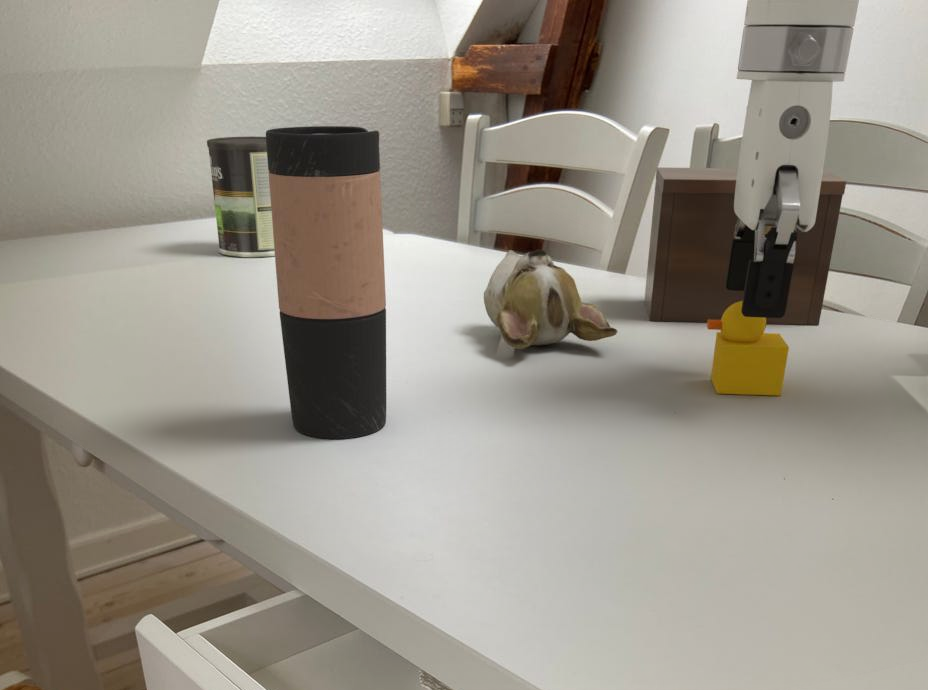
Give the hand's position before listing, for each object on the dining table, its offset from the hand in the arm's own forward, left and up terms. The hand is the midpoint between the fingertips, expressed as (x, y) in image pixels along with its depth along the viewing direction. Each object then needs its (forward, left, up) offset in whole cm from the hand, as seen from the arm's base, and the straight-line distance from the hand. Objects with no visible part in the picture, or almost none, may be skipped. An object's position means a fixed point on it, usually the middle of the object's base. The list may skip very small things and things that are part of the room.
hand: (752, 302), depth 81 cm
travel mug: (+32, +13, -7) cm, 35 cm away
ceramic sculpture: (+18, -13, -7) cm, 23 cm away
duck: (0, 0, -7) cm, 7 cm away
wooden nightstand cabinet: (-2, -28, -7) cm, 29 cm away
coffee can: (+59, -59, -7) cm, 84 cm away
